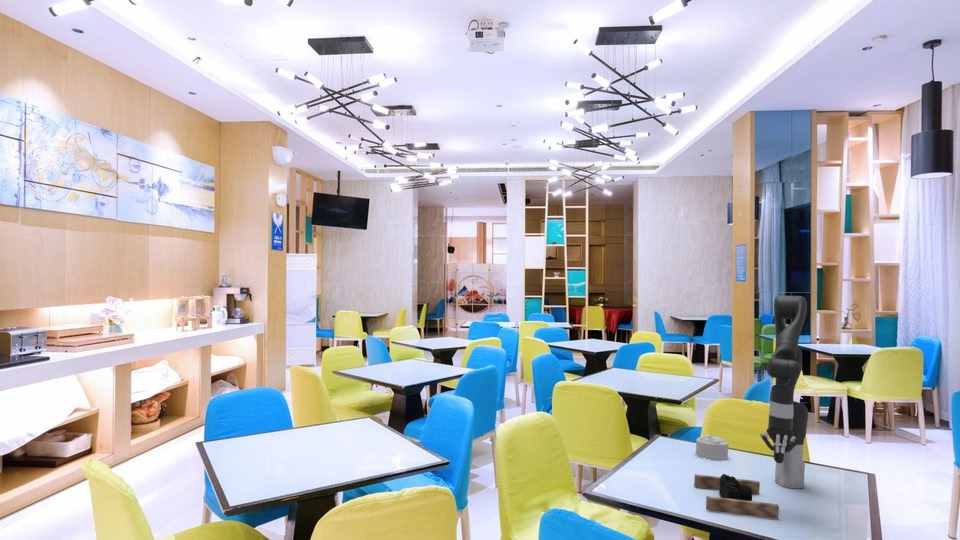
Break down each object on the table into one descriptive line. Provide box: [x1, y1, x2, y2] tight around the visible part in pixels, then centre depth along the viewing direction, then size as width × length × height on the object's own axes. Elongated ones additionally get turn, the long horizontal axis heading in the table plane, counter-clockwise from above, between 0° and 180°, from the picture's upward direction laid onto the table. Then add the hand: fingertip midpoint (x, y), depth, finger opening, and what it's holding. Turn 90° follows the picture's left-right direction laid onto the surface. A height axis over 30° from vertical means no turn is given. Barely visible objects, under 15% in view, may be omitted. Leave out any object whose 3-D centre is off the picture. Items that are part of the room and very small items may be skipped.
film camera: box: [718, 473, 753, 501], centre depth 192 cm, size 15×10×9 cm, turn 168°
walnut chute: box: [693, 473, 780, 520], centre depth 192 cm, size 23×21×4 cm
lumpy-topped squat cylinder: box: [695, 433, 729, 461], centre depth 237 cm, size 10×13×9 cm
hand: (778, 462), depth 189 cm, fingers closed
